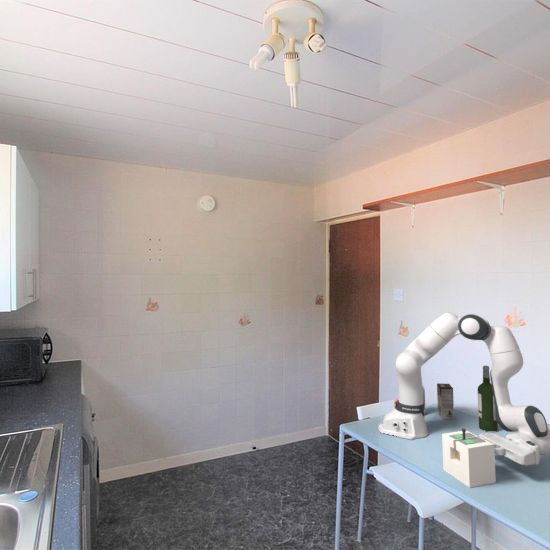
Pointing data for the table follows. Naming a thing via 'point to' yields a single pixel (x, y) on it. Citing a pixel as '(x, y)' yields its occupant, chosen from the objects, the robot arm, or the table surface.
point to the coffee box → (445, 401)
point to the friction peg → (463, 439)
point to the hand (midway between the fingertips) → (488, 450)
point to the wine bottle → (486, 404)
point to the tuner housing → (469, 458)
